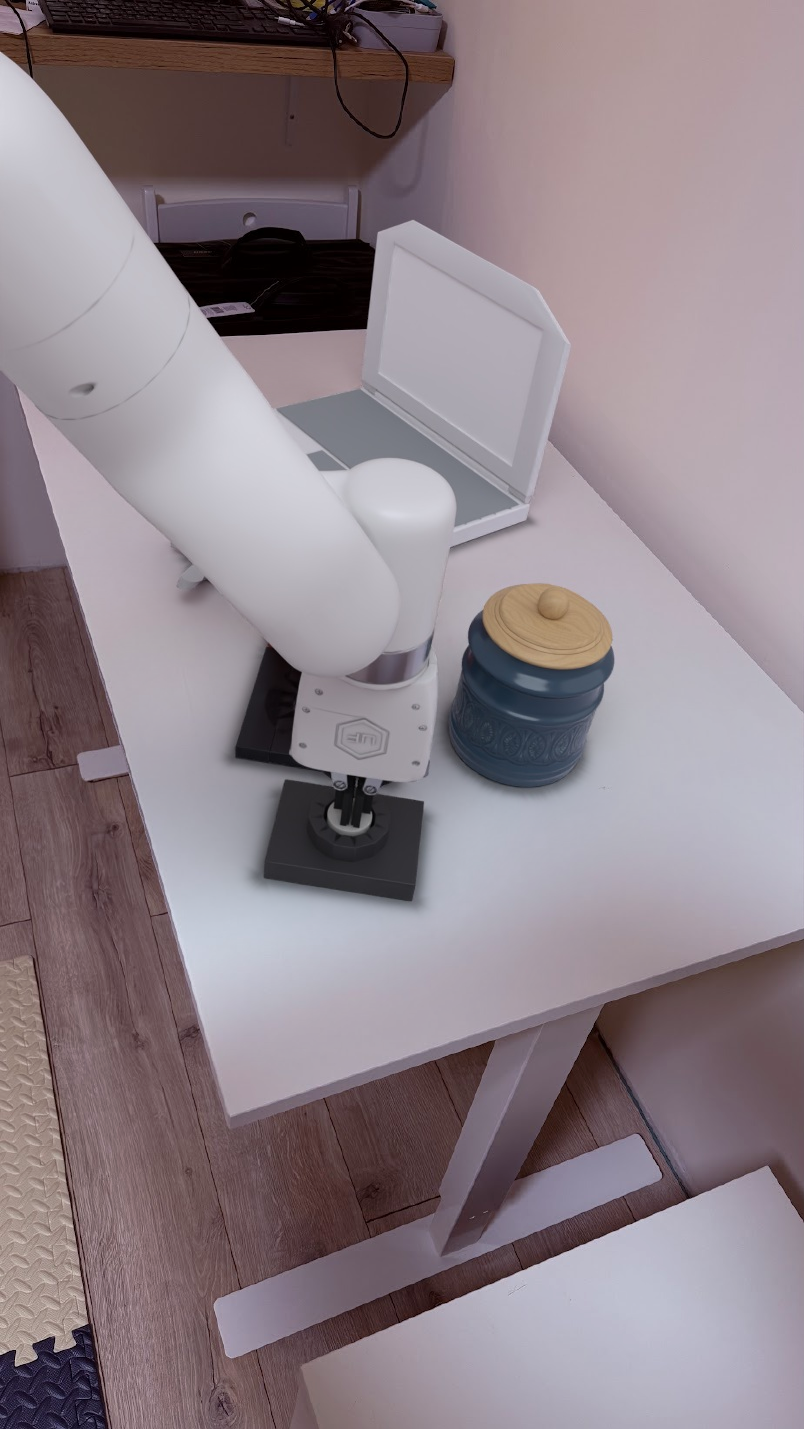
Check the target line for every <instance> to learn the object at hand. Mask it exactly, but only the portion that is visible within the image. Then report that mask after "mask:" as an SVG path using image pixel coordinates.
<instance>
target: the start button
mask: <svg viewBox="0 0 804 1429" xmlns="http://www.w3.org/2000/svg"><path fill="white" fill-rule="evenodd" d="M354 800H355V798H353V804H352V810H351V815H350V821H349V825H347V824H346V826H343V825H340V820H341V812H342V810H340V809H334V802H333V803H332V804H331V805H330V807H329V809H328V814H327V822H326V823H327V825H328V827H329V828H331V829H332V830H334V831H335V832H337V833H338V834H342V835H348V836H356V835H360V834H364V833H367V832H368V831H369V830H370V827H371V821H372V812H371V814H365V813H362V815H361V821H360V827H359V828H355V827H353V825H351V821H352V814H353V807H354Z"/></svg>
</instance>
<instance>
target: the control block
mask: <svg viewBox="0 0 804 1429" xmlns="http://www.w3.org/2000/svg"><path fill="white" fill-rule="evenodd" d="M356 787H357V786H355V791H354V798H355V793H356ZM335 792H336V789H335V788H333V786H332V785H326V784H318V783H314V782H313V783H312V782H306V781H300V780H295V779H288V778H285V779H284V781H283V785H282V789H281V794H280V797H279V802H278V806H277V809H276V814H275V817H274V822H273V825H272V829H271V833H270V838H269V842H268V846H267V851H266V854H265V858H264V863H263V864H264V866H263V878H264V879H268V880H274V881H281V882H287V883H294V884H299V885H305V886H311V887H312V886H313V887H318V888H325V889H331V890H338V891H344V892H350V893H357V894H362V895H368V896H376V897H381V898H388V899H393V900H394V899H395V900H401V901H406V902H412V901H413V896H414V893H415V889H416V885H417V884H416V881H417V874H418V873H417V872H418V864H419V855H420V847H421V846H420V845H421V836H422V826H423V819H424V818H423V817H424V807H425V801H424V800H419V799H412V798H406V797H401V796H400V797H399V796H395V795H394V796H393V795H388V794H382V793H377V794H375V795H373V802H372V808H371V812H372V821H371V827H370V830H369V831H368V832H367V833H364V834H360V835H356V836H348V835H342V834H338V833H337V832H335V831H334V830H332V829H331V828H329V827H328V825H327V823H326V822H327V814H328V809H329V807H330V805H331V804H332V803H333V802H334V800H335Z"/></svg>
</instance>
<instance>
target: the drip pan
mask: <svg viewBox="0 0 804 1429" xmlns="http://www.w3.org/2000/svg"><path fill="white" fill-rule="evenodd" d="M301 674H302V672H301V671H299V670H297V669H295V668H294V667H293V666H291V665H290V664H289V663H288V662H287V661H286V660H285V659H284V658H283V657H282V656H281V655H280V654H279V653H278V652H277V651H276V650H275V649H274V648H272V647H268V646H265V649H264V651H263V655H262V659H261V662H260V664H259V669H258V672H257V674H256V677H255V682H254V685H253V688H252V691H251V695H250V698H249V701H248V703H247V707H246V711H245V714H244V717H243V720H242V724H241V727H240V731H239V734H238V736H237V740H236V743H235V747H234V748H235V749H234V750H235V753H234V754H235V756H234V757H235V758H236V759H242V760H247V761H254V762H261V763H266V764H273V765H279V766H286V767H292V768H299V769H304V770H312V771H317V772H322V773H324V772H323V771H321V770H318V769H313V768H309V767H306V766H304V765H302V764H300V763H298V762H297V761H295V760H294V758H293V757H292V756H291V755H290V754H289V750H290V746H291V742H292V732H293V723H294V715H295V708H296V702H297V695H298V689H299V683H300V679H301ZM356 778H358V776H357V777H356Z"/></svg>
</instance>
